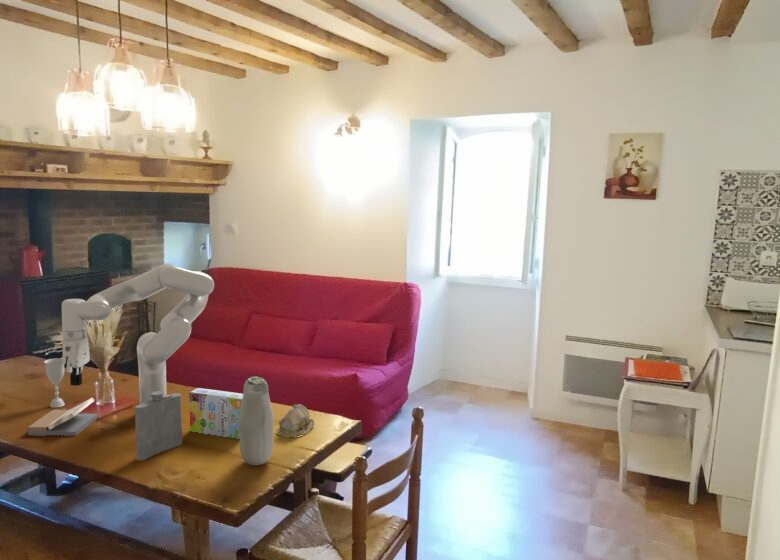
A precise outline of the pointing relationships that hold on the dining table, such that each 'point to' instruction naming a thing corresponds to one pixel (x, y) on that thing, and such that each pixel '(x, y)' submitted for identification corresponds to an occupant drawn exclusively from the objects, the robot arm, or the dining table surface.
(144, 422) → the hip flask
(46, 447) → the dining table surface
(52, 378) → the chalice
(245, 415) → the pale grey bottle
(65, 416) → the pale plank
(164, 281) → the robot arm
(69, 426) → the floor sample board
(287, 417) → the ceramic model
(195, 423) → the snack box
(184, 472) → the dining table surface
